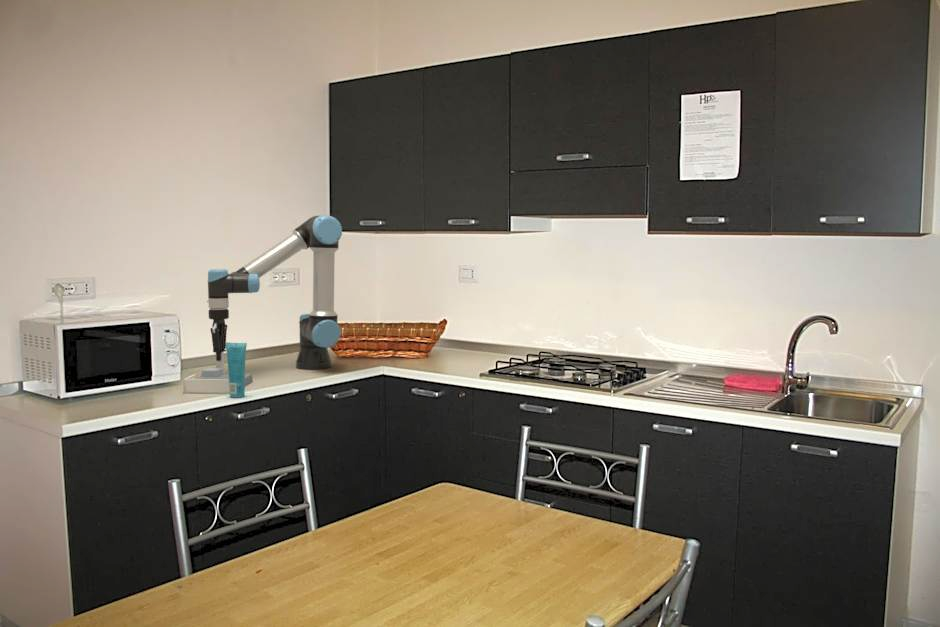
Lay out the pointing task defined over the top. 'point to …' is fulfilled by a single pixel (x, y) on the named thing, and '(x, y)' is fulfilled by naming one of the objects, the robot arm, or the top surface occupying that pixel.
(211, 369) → the tile
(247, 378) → the board
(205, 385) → the tray
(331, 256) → the robot arm
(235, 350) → the tube
